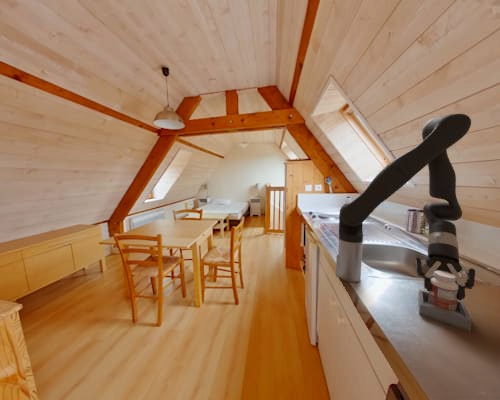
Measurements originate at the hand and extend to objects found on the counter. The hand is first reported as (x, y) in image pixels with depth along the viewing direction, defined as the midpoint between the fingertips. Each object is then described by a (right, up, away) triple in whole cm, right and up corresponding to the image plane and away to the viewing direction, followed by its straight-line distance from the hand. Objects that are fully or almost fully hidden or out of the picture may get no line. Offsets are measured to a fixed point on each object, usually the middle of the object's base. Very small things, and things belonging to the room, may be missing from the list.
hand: (443, 294), depth 57 cm
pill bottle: (+1, -5, +2) cm, 5 cm away
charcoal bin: (+1, -7, +2) cm, 7 cm away
